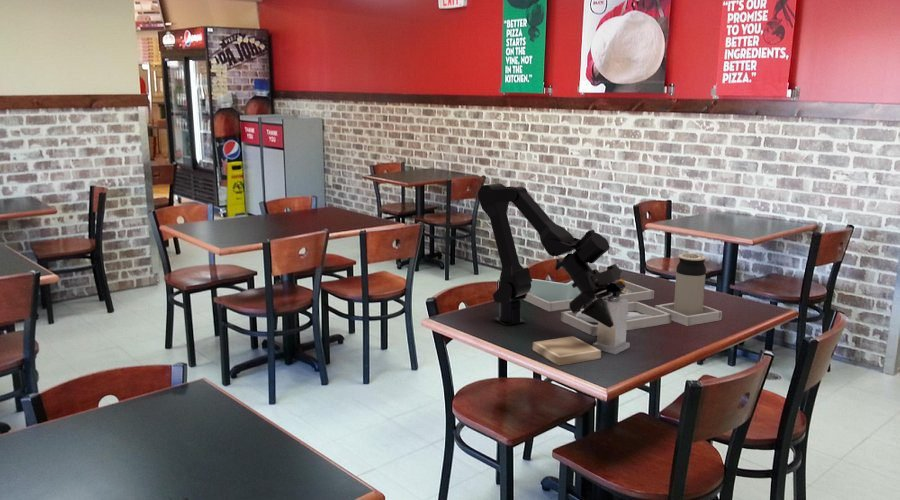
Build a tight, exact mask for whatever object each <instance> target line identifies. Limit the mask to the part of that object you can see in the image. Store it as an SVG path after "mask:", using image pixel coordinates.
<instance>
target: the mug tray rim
mask: <svg viewBox="0 0 900 500" xmlns="http://www.w3.org/2000/svg"><path fill="white" fill-rule="evenodd" d="M654 308H656V309H658V310H661V311H664V312H666V313H669V314H672V318H671V322H675V323H678V324H681V325H683V326H685V327H689V326H696V325H700V324H701V325H702V324H706V323H712V322H719V321H722V316H723V311H722V310H718V309H715V308H713V307H709V306H706V305H704V304H703V313H702V314H697V315H691V316H686V315H683V314H681V313H678V312H675V311H674V302H669V303H663V304H656V305H655V306H654Z"/></svg>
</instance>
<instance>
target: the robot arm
mask: <svg viewBox="0 0 900 500" xmlns="http://www.w3.org/2000/svg"><path fill="white" fill-rule="evenodd" d="M477 199H478V202H479V204H480V208H481V210H482V211H483V212H484V213H485V214H486V215H487V216H488V218H489V220H490V224H491V229H492V233H493V238H494V242H495V245H496V249H497V252H498V256H499V261H500V265H501V271H500V275H499V284H500V285H499V287H498V289H496V290H495V291H494V293H492V298H493V302H495V303H499V307H498V311H499V313H498V316H497V317H494V321H496V322H498V323H500V324H502V325H503V326H512V325H518V324H524V323H526V321H525V319H522V318H521V317H522V316H521V314H522V310H521V304H522V303H521V300H523V299H525V298H526V296H527V293H528V292H529V291H530V289H531V282H532V279H533V278H532V277H531V274H530V273H531V272H530V269H529V267H523V266H522V264H521V262H520V260H519V257H518V251H517V248H516V245H515V241H514V237H513V232H512V229H511V224H510V221H509V217H508V209H509V204H510V203H512V204H513V205H514V206H515V207H516V208H517V209H518V211H519V212H520V213H521V214H522V216H523V217H524V218H525V219H526V220H527V221H528V223H529V224H530V225H531V226H532V228H534V229H535V231H536V232H537V234H538V235H539V239H540V243H541V245H542V246H543V248H544V250H545V251H546V253H547V254H548V255H549V256H551V257H559V256H564V257H563V258H557V259H556V260H555V262H556V265H555V268H554V270H555V271H559V270H560V271H561V270H564V271H565V272H566V274H567V275H568V276H569V278H570V279H571V281H573V282H574V283H573V284H572V286H573V288H576V287H577V288H578V289H579V291H580V292H581V293H580V294H579V295H578V296H577V297H576V298H575V299H573V300H572V301H571V302H570V303H569V308H570V310H569V311H572V313H573V314H575V313H577V312H579V311H581V309H584V310H583V311H582V312H581V313H582V314H585V315H587V316H589V317H591V318H593V319H595V320H597V321H599V322H600V323H602V324H604V325H606V326H607V327H609V328H610V327H612V326H613V324H612V322H611V320H610V318H609V317H608V315H607V313H606V312H605V310H604V308H603V307H602V299H603V298H606V297H609V296H617V297H619V295H620V293H621V291H622V290H623V289H624V288H625V285H624V284H623V283H622V281H618V280H620V279H622V277H621V275H622V273H623V271H622V270H621V269H620V267H619V266H618V265H617V264H616V263H614V264H611V265H607V267H606V270H605V271H602V272H600V271H599V269H597V268H596V269H595V268H594V269H592V267H591V266H590V265H589V264H594V263H596V262H597V261H598V260H599V259H600V258H601V257H602V256H603V255H604V254H605V253H607V252H608V251H609V250H610V243H609V242H608V239H607V238H606V237H603V236H602V235H601V234H599V233H597V232H596V231H595V230H594V229H589V230H587V231H586V232H585V234H584V235H583V236H582V237H581V238H577V237H574V236H573V234H571V232H569V231H568V230H567V229H566V228H564V227H563V226H562V225H561V226H560V225H559V224H557V223H555V222H554V221H553V220H552V219H551V218H550V217H549V216H548V214H547V213H546V212H545V211H544V210H543V209H542V207H541V206H540V205H539V204H538V202H536V200H535V199H534V198H533V197H532V196H531V194H529V192H528V189H527V188H526V187H524V186H507V185H504V184H502V183H501V182H497V183H491V184H490V183H489V184H484V185H482V186H480V187H479V189H478V191H477ZM573 251H574V252H573ZM571 252H573V253H571ZM616 280H617V281H616ZM609 283H610V284H609Z"/></svg>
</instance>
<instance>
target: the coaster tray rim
mask: <svg viewBox="0 0 900 500" xmlns="http://www.w3.org/2000/svg"><path fill="white" fill-rule="evenodd" d="M522 300H524V301H525V302H527V303H530V304H532V305H534V306H536V307H539V308H540V309H542V310H544V311H546V312H555V311H563V310H568V309H570V308H569V303H570V302H571V301H572V300H573V299H569V300H567V301H566V300H562V301H555V302H549V301H546V300H544V299H542V298H540V297H537V296H535V295H531V289H530V291H529V292H528V293H527V296H526V298H525V299H522Z"/></svg>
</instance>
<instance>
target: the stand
mask: <svg viewBox="0 0 900 500" xmlns="http://www.w3.org/2000/svg"><path fill="white" fill-rule="evenodd" d="M532 350H533V352H536V353H537V354H539V355H540V356H542V357H543V358H545V359H547V360H548V361H551V362H552V363H553V364H555V365H557V366H564V365H565V366H566V365H570V364H576V363H581V362H588V361H594V360H601V358H602V357H601V356H602V351H601V350H599V349H597V348H595V347H593V345H591V344H589V343H587V342H585V341H584V340H582V339H579V338H577V337H576V336H574V335H573V336H572V335H571V336H566V337H558V338H553V339H546V340H539V341H533V342H532Z"/></svg>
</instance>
